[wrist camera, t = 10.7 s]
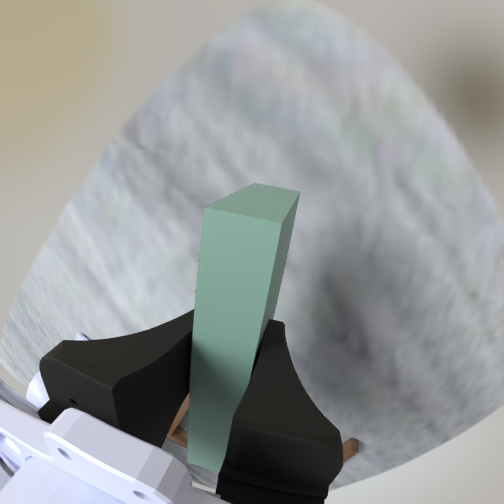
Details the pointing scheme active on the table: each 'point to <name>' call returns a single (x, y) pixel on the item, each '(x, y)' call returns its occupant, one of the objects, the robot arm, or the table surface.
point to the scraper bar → (233, 308)
